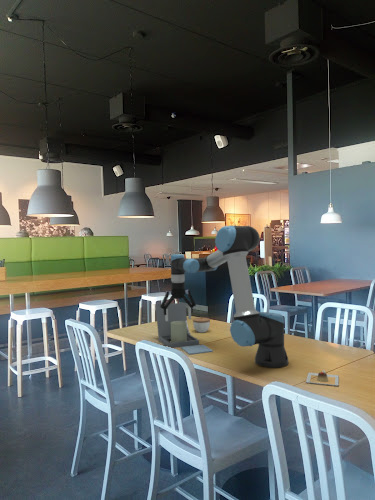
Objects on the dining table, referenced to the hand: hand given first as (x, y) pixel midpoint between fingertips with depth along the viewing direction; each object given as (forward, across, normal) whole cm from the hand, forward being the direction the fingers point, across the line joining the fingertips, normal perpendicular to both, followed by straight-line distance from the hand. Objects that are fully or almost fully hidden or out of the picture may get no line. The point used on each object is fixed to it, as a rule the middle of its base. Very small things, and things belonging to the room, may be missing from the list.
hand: (178, 319), depth 223 cm
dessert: (+13, -35, +79) cm, 87 cm away
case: (+13, 0, -3) cm, 13 cm away
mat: (+13, -4, +17) cm, 22 cm away
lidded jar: (+13, -22, -20) cm, 33 cm away
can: (+13, 0, 0) cm, 13 cm away
